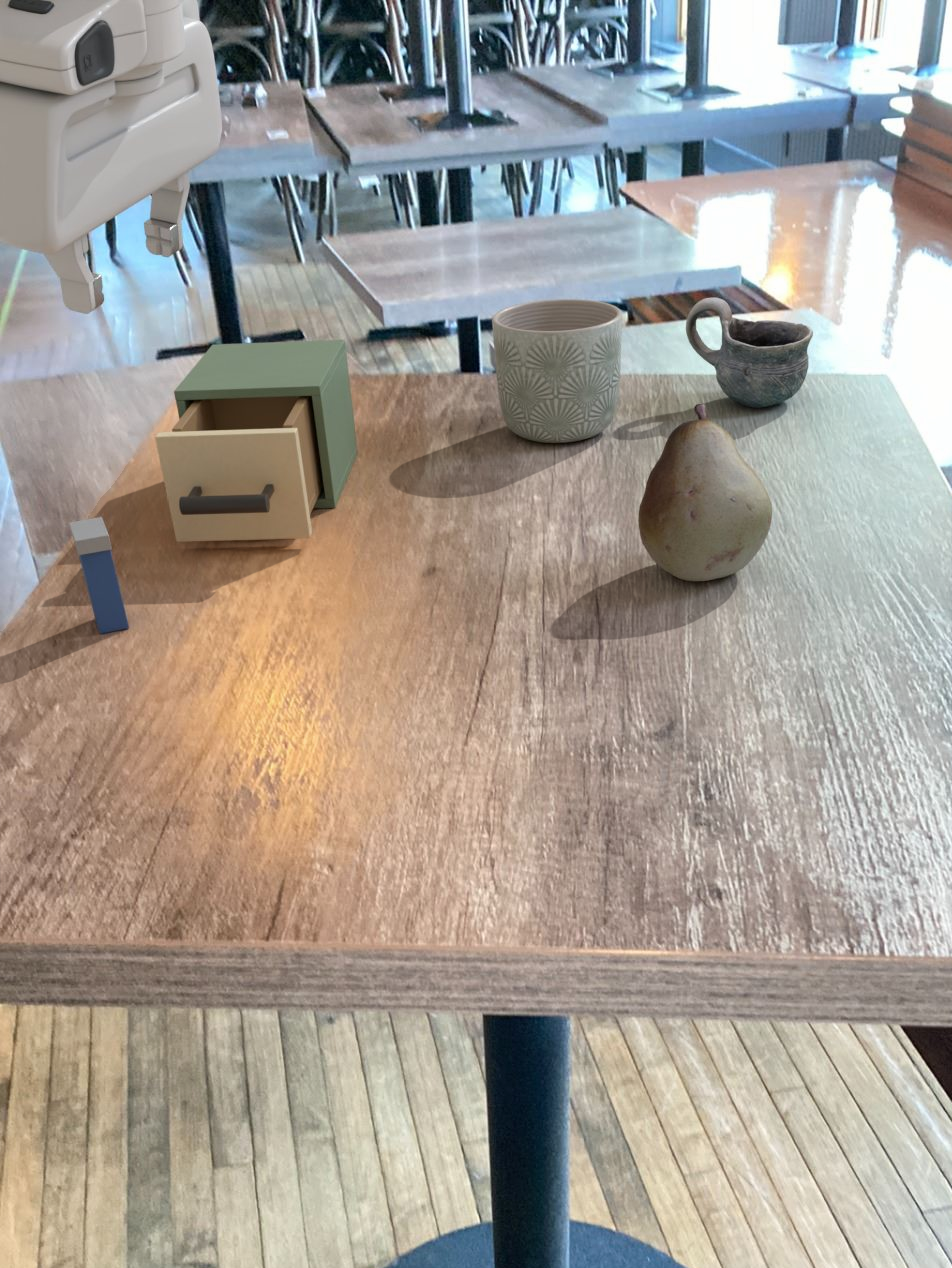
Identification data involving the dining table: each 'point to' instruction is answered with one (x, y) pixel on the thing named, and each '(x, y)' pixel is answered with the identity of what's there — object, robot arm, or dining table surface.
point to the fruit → (703, 505)
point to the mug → (754, 355)
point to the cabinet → (286, 393)
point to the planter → (558, 367)
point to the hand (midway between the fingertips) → (126, 278)
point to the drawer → (242, 469)
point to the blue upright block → (99, 574)
